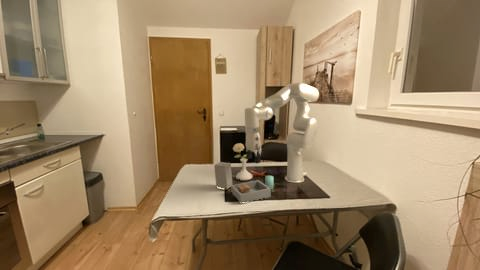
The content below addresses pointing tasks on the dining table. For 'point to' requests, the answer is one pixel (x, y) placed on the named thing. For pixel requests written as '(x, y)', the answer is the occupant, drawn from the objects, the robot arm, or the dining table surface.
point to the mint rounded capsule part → (269, 181)
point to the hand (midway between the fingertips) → (253, 160)
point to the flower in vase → (244, 173)
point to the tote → (252, 191)
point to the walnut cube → (244, 189)
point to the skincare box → (223, 175)
